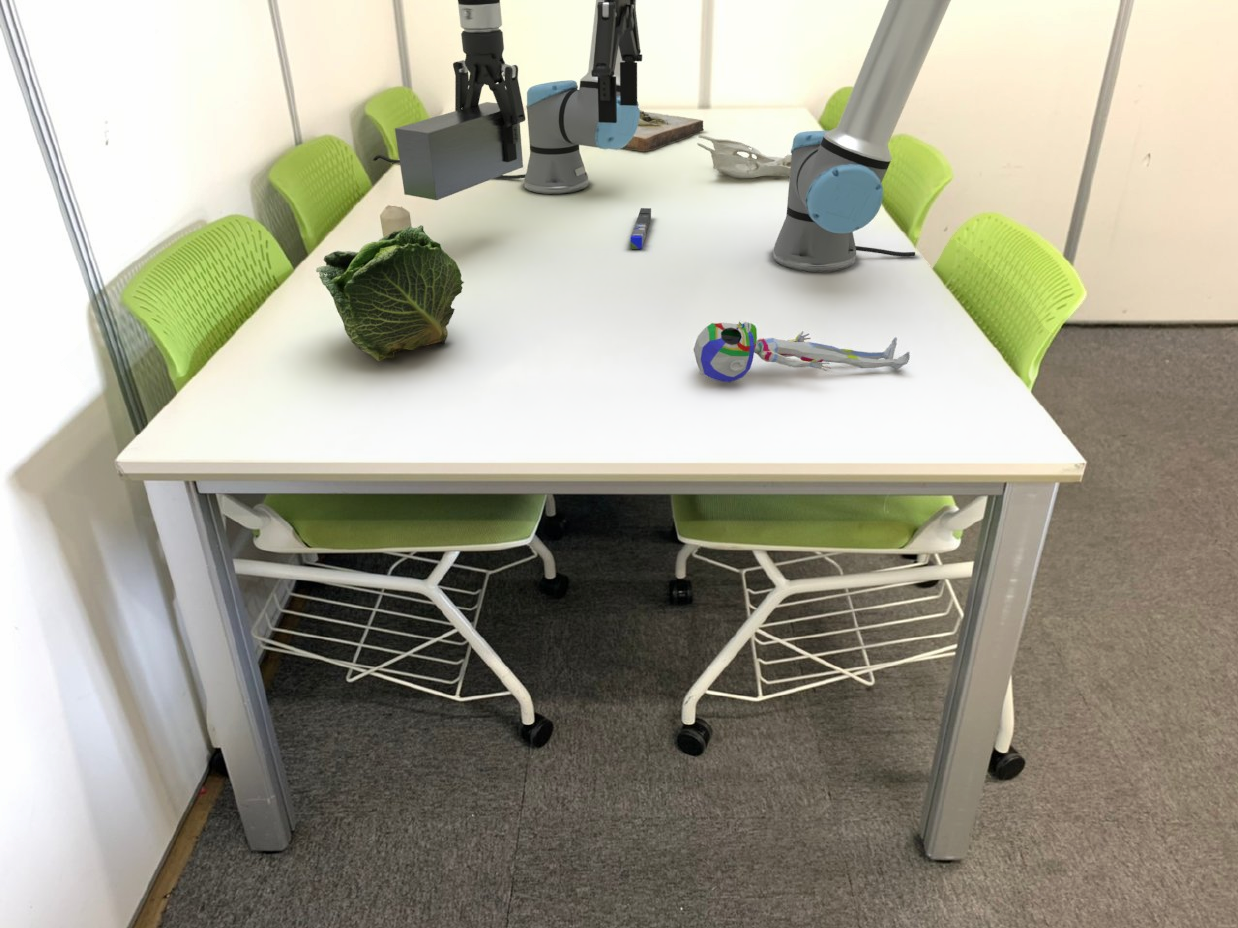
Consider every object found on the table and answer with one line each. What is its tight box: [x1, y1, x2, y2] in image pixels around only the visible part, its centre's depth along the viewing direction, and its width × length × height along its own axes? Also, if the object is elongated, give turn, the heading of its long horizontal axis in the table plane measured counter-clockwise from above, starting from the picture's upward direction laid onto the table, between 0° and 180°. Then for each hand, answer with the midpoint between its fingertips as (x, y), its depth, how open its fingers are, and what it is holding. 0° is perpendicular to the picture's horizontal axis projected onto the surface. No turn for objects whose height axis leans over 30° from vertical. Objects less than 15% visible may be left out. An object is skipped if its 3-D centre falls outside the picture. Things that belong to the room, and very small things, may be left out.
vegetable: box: [315, 224, 465, 362], centre depth 134 cm, size 20×19×20 cm
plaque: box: [622, 109, 705, 152], centre depth 257 cm, size 30×7×30 cm
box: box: [394, 101, 524, 201], centre depth 167 cm, size 25×8×12 cm, turn 148°
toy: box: [692, 321, 911, 383], centre depth 128 cm, size 10×8×30 cm
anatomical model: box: [696, 134, 792, 179], centre depth 218 cm, size 15×9×25 cm
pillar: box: [630, 207, 652, 250], centre depth 183 cm, size 2×2×20 cm
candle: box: [379, 205, 412, 238], centre depth 170 cm, size 6×6×10 cm
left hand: (493, 157), depth 175 cm, fingers closed on box, 8 cm apart
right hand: (618, 113), depth 143 cm, fingers open, 13 cm apart
